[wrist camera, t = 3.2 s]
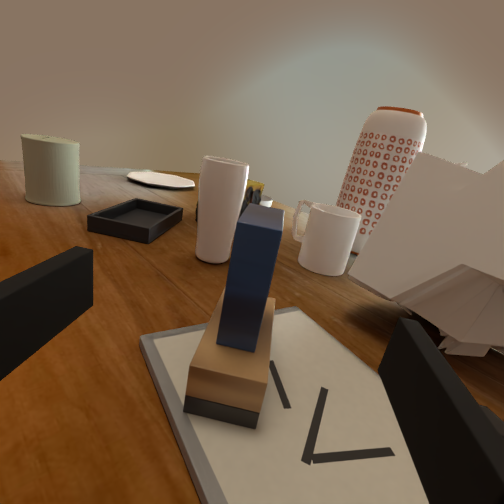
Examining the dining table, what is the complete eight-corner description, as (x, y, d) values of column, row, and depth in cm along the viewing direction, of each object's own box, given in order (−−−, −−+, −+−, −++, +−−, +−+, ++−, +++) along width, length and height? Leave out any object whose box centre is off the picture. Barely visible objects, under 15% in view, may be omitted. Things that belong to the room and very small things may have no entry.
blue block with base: (255, 430, 20) (303, 248, 16) (182, 412, 20) (208, 228, 16) (267, 333, 30) (297, 206, 26) (218, 322, 31) (240, 194, 26)
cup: (298, 246, 62) (310, 197, 58) (352, 270, 54) (369, 216, 51) (272, 251, 56) (284, 198, 52) (328, 279, 49) (346, 219, 45)
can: (16, 202, 55) (9, 132, 51) (36, 191, 63) (32, 130, 59) (73, 208, 58) (71, 142, 54) (85, 197, 66) (85, 139, 62)
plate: (131, 173, 101) (131, 169, 101) (191, 182, 107) (192, 177, 107) (123, 184, 84) (123, 179, 83) (195, 194, 90) (196, 189, 89)
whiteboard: (345, 871, 9) (356, 863, 8) (138, 344, 27) (139, 335, 27) (541, 526, 19) (550, 515, 18) (294, 312, 37) (296, 305, 37)
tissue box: (327, 292, 38) (433, 99, 34) (377, 306, 49) (460, 161, 46) (531, 424, 23) (745, 114, 20) (536, 401, 34) (673, 199, 31)
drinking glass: (213, 270, 44) (229, 164, 39) (181, 254, 47) (191, 154, 42) (241, 260, 49) (259, 166, 44) (211, 246, 53) (224, 157, 47)
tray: (148, 244, 49) (149, 228, 48) (87, 230, 49) (87, 215, 48) (182, 220, 64) (183, 208, 63) (135, 210, 64) (135, 197, 63)
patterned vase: (315, 243, 66) (353, 100, 56) (339, 235, 76) (376, 113, 66) (375, 266, 59) (432, 107, 49) (393, 254, 69) (443, 121, 59)
